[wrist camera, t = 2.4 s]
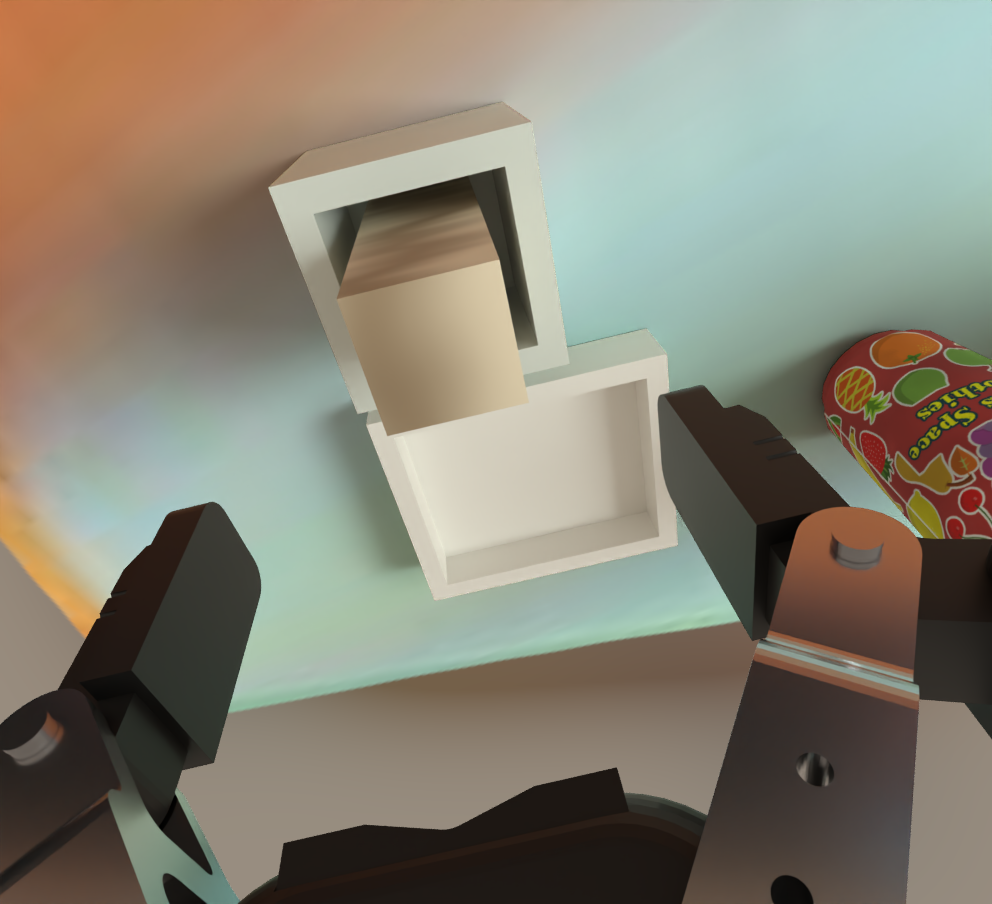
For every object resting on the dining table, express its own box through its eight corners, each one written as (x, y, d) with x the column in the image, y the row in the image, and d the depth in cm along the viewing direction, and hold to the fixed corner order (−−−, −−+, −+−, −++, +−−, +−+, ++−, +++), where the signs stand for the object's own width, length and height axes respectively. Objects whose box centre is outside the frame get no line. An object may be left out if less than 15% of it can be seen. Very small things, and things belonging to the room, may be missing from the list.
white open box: (502, 101, 24) (531, 121, 18) (536, 294, 29) (569, 363, 22) (306, 151, 24) (268, 187, 18) (370, 334, 29) (357, 414, 23)
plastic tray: (646, 328, 30) (667, 353, 28) (660, 511, 37) (678, 545, 34) (370, 394, 31) (366, 425, 28) (433, 563, 37) (434, 600, 35)
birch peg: (466, 172, 25) (499, 259, 15) (487, 269, 27) (528, 402, 17) (369, 196, 25) (336, 299, 15) (398, 291, 27) (387, 436, 17)
